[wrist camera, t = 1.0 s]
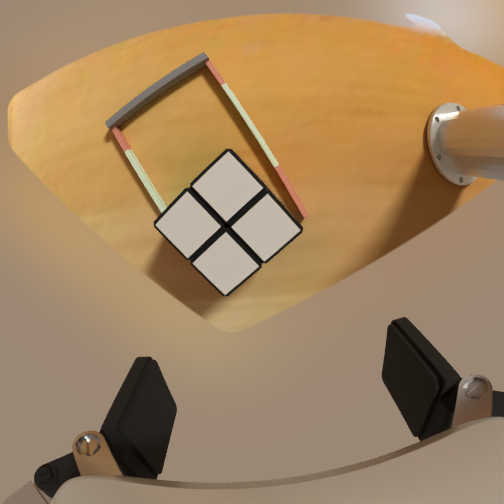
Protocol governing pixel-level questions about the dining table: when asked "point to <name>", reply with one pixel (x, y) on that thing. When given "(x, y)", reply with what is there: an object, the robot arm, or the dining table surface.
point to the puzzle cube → (227, 223)
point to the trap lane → (160, 88)
